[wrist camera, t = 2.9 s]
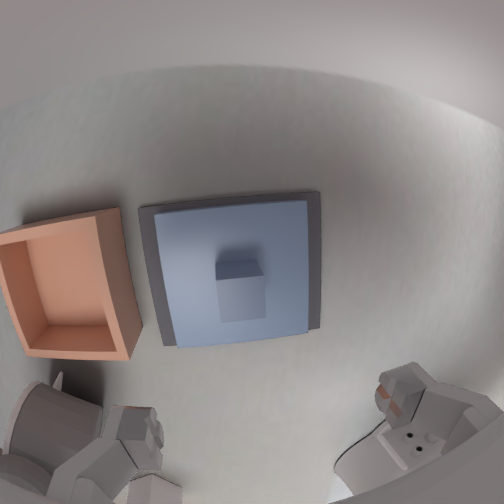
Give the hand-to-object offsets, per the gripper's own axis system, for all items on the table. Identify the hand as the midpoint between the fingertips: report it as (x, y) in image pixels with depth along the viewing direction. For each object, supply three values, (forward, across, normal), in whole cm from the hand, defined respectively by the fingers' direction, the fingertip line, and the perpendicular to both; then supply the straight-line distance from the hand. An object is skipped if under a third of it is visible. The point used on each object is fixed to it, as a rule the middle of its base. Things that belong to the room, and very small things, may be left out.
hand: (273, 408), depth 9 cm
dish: (+15, +14, -1) cm, 21 cm away
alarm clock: (+15, +20, +16) cm, 29 cm away
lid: (+14, 0, 0) cm, 14 cm away
